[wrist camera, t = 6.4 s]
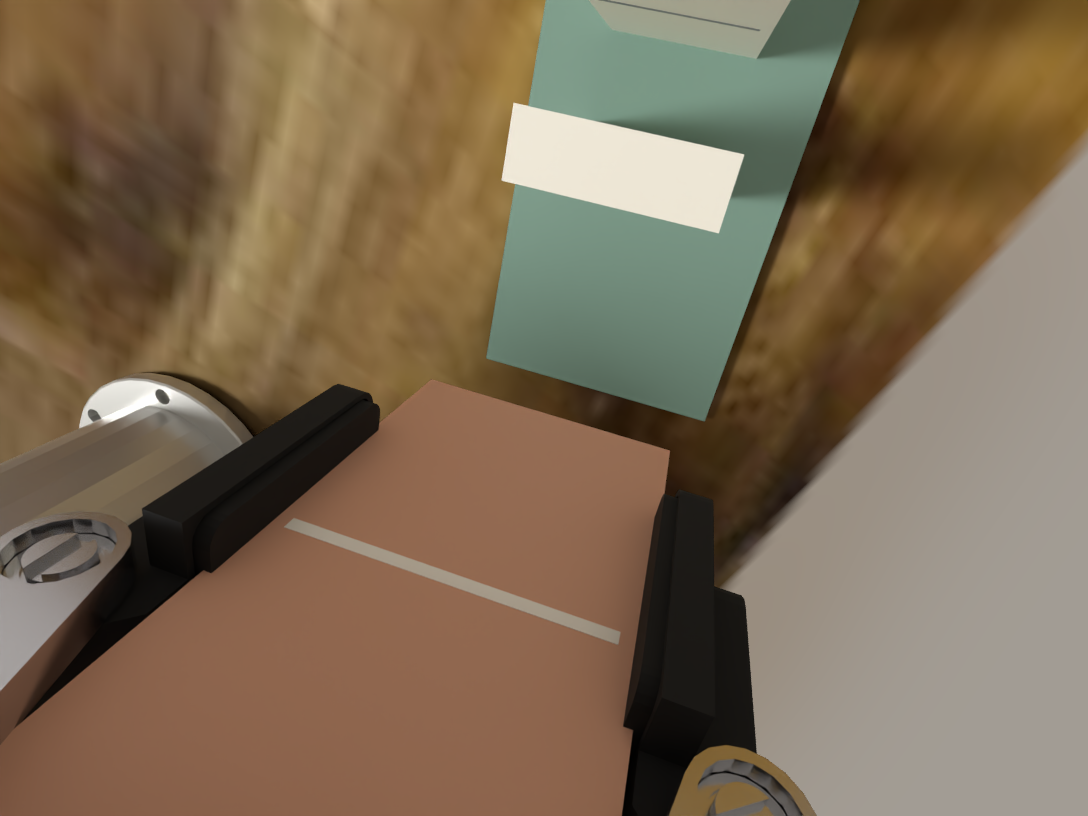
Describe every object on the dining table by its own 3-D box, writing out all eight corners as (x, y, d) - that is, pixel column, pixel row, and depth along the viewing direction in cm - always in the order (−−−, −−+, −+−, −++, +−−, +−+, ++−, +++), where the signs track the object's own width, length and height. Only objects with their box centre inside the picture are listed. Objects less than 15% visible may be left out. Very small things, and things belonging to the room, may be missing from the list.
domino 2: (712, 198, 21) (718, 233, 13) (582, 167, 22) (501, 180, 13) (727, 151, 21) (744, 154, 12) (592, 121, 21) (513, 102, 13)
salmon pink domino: (647, 516, 12) (469, 1555, 3) (424, 445, 13) (-231, 1128, 4) (670, 450, 11) (522, 1562, 2) (431, 378, 12) (-353, 1033, 3)
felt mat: (704, 417, 25) (704, 421, 25) (488, 355, 27) (486, 358, 26) (1079, -603, 13) (1089, -623, 13) (654, -622, 15) (652, -641, 14)
